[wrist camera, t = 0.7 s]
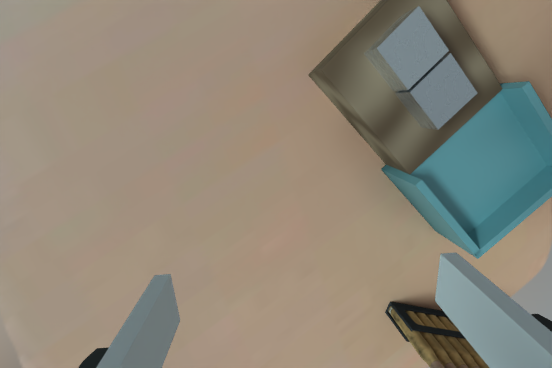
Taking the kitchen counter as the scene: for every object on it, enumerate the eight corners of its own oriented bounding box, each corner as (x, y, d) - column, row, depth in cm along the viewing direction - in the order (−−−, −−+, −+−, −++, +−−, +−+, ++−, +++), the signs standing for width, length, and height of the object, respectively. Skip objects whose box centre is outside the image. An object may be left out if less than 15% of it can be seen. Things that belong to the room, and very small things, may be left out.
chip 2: (394, 93, 27) (409, 92, 24) (431, 57, 26) (450, 52, 24) (421, 127, 28) (438, 129, 26) (457, 94, 27) (477, 93, 25)
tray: (381, 169, 34) (415, 185, 27) (470, 85, 33) (529, 81, 26) (435, 231, 37) (477, 258, 31) (518, 157, 36) (582, 170, 29)
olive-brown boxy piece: (308, 74, 30) (320, 69, 25) (393, -13, 29) (423, -36, 24) (386, 164, 34) (409, 174, 29) (464, 91, 33) (502, 88, 28)
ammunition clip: (453, 313, 42) (534, 392, 30) (448, 323, 42) (526, 405, 31) (389, 301, 40) (449, 381, 28) (384, 312, 40) (442, 396, 29)
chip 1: (363, 53, 25) (376, 48, 23) (401, 15, 25) (418, 5, 23) (393, 91, 27) (408, 90, 24) (430, 55, 26) (449, 50, 24)
